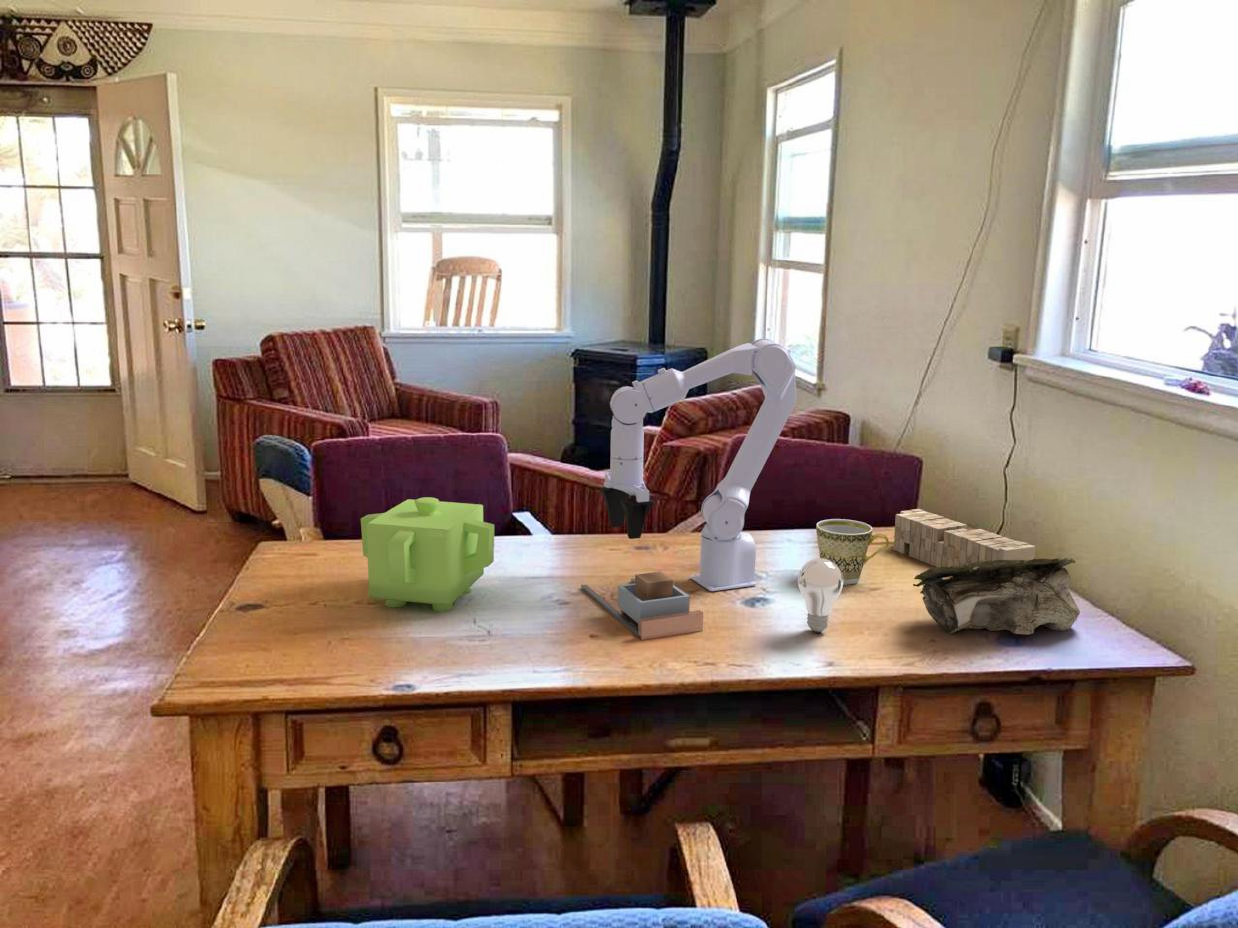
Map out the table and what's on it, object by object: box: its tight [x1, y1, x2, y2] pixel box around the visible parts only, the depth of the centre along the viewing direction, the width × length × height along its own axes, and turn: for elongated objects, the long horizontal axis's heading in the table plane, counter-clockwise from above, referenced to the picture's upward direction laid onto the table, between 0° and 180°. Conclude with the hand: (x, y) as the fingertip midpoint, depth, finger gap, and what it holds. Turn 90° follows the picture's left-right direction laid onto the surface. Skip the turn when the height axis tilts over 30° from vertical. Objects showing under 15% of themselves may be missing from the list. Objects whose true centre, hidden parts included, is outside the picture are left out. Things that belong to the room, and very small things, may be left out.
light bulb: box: [797, 557, 844, 634], centre depth 157 cm, size 7×7×12 cm
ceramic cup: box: [815, 518, 890, 586], centre depth 182 cm, size 13×10×10 cm
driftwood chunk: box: [912, 557, 1081, 635], centre depth 159 cm, size 28×13×15 cm
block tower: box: [893, 508, 1036, 568], centre depth 192 cm, size 8×8×29 cm
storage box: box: [360, 496, 495, 613], centre depth 169 cm, size 25×23×17 cm
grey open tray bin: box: [617, 583, 691, 627], centre depth 162 cm, size 9×9×5 cm
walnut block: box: [635, 571, 674, 601], centre depth 161 cm, size 4×4×5 cm
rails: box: [580, 578, 704, 641], centre depth 167 cm, size 11×25×3 cm, turn 24°
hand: (625, 532), depth 177 cm, fingers open, 7 cm apart
